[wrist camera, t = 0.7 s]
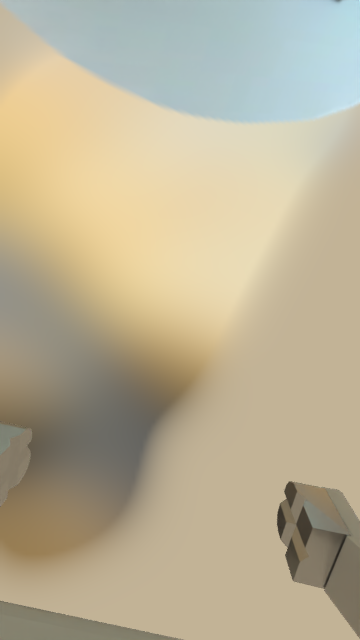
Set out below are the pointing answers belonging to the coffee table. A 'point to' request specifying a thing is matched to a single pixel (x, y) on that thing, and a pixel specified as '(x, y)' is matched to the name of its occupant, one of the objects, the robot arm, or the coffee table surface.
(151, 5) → the coffee table surface
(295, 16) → the coffee table surface
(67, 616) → the robot arm
